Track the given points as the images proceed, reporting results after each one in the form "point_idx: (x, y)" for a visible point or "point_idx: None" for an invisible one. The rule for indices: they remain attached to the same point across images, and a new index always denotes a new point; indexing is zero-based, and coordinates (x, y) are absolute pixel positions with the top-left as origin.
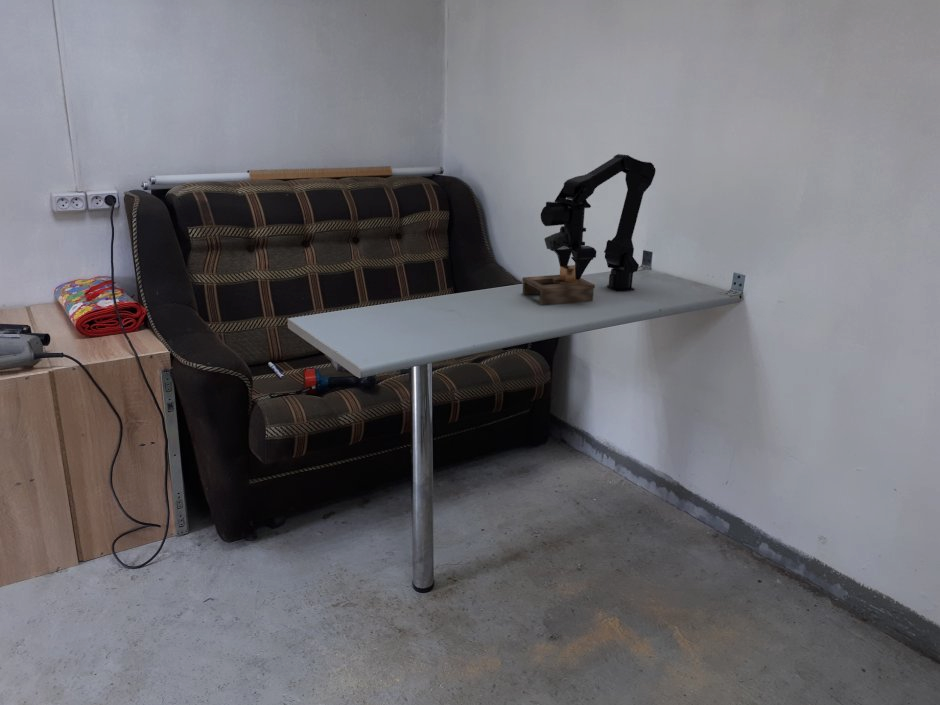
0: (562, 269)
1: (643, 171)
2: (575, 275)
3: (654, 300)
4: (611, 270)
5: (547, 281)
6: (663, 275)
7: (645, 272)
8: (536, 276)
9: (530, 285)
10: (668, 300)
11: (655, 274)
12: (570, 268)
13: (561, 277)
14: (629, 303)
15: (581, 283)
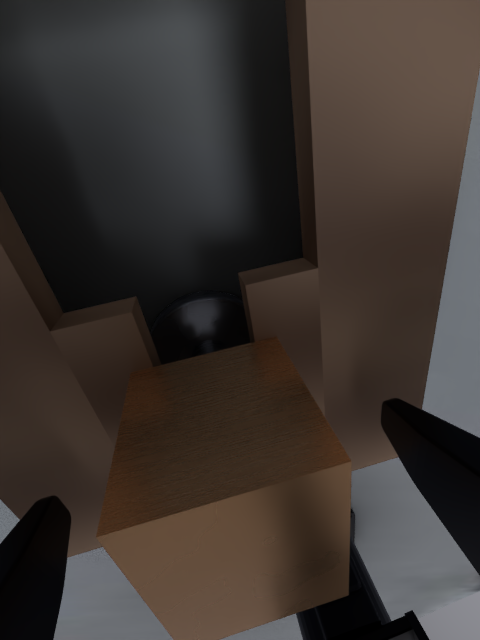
0: (245, 452)
1: None
2: (22, 540)
3: (136, 611)
4: (369, 613)
5: (300, 195)
6: (413, 610)
7: (460, 583)
8: (478, 61)
9: None
10: (138, 635)
11: (430, 599)
12: (147, 577)
13: (239, 363)
14: (78, 559)
15: (86, 489)
